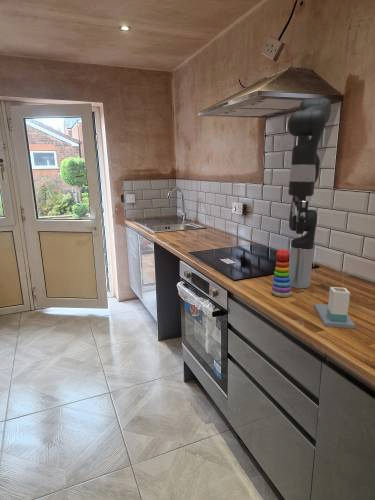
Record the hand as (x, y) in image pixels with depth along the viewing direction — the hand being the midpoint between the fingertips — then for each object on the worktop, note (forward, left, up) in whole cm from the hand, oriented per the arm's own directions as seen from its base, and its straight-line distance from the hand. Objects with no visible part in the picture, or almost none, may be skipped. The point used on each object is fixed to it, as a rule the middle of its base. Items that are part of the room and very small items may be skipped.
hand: (297, 231), depth 104 cm
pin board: (-2, +14, -30) cm, 33 cm away
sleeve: (+2, +14, -28) cm, 32 cm away
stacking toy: (-21, -1, -30) cm, 36 cm away
